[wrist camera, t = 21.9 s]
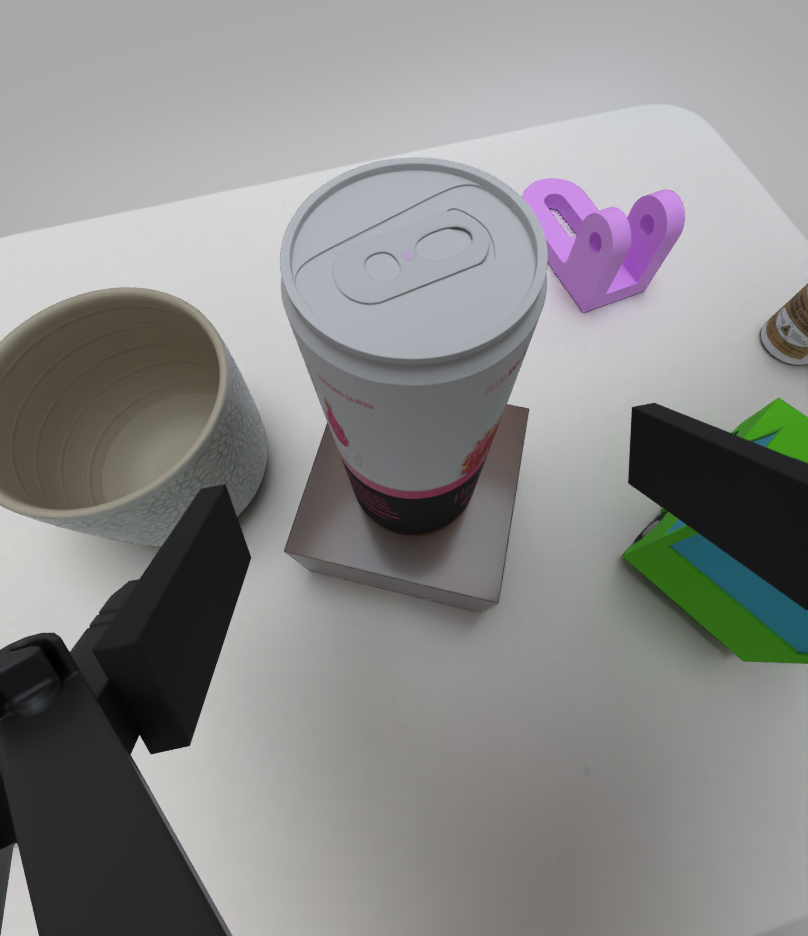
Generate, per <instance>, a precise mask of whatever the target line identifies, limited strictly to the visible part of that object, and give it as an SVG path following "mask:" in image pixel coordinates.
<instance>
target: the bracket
mask: <svg viewBox="0 0 808 936" xmlns="http://www.w3.org/2000/svg"><path fill="white" fill-rule="evenodd" d="M522 198H523V199H524V200H525V201H526V203H527V204H528V205H529V206H530V208H531V209H532V210H533V212H534V213H535V215H536V217H537V218H538V220H539V222H540V224H541V226H542V229H543V232H544V235H545V238H546V243H547V250H548V263H549V265H550V266H551V268H552V269H553V270H554V272H555V273H556V275H557V276H558V278H559V279H560V280H561V282H562V283H563V285H564V286H565V288H566V289H567V290H568V292H569V293H570V295H571V296H572V298H573V299H574V301H575V302H576V303H577V305H578V306H579V308H580V309H581V311H582V312H583V313H584V312H587V311H590V310H593V309H596V308H598V307H601V306H604V305H607V304H609V303H612V302H615V301H618V300H621V299H623V298H626V297H629V296H632V295H635V294H637V293H640V292H643V291H645V289H646V288H647V286H648V285H649V283H650V281H651V280H652V278H653V277H654V275H655V274H656V272H657V271H658V269H659V267H660V266H661V264H662V263H663V261H664V260H665V258H666V257H667V255H668V254H669V252H670V250H671V249H672V247H673V246H674V244H675V243H676V241H677V240H678V238H679V236H680V235H681V233H682V230H683V227H684V222H685V211H684V206H683V203H682V201H681V199H680V197H679V196H678V195H677V194H676V193H675V192H673V191H671V190H661V191H658V192H655V193H652V194H649V195H646V196H643V197H641V198H640V199H638V200H637V201H636V203H635V204H634V205H633V207H632V209H631V211H630V213H629V215H628V217H626V215H625V214H624V213H623V212H622V211H621V210H620V209H618V208H616V207H610V208H606V209H603V210H600V211H599V210H598V208H597V207H596V206H595V205H594V203H593V202H592V201H591V200H590V198H589V197H588V196H587V195H586V193H585V192H584V191H583V190H582V189H581V188H580V187H578V186H577V185H575V184H574V183H572V182H569V181H566V180H562V179H554V178H550V179H543V180H539V181H536V182H534V183H532V184H531V185H530V186H528V187H527V188H526V190H525V191H524V193H523V196H522ZM549 208H551V209H555V210H557V211H559V212H560V213H561V215H562V216H563V217H564V219H565V220H566V221H567V223H568V224H569V225H570V227H571V228H572V229H573V231H574V232H575V233H576V235H577V236H576V239H573V238H571V237H570V236H569V235H568V234H567V233H566V231H565V230H564V229H563V227H562V226H561V225H560V223H559V222H558V221H557V219H556V218H555V217H554V215H553V214H552V213H551V211H550V210H549Z"/></svg>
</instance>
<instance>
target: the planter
mask: <svg viewBox="0 0 808 936" xmlns="http://www.w3.org/2000/svg"><path fill="white" fill-rule="evenodd" d="M266 462H267V440H266V435H265V430H264V427H263V424H262V421H261V418H260V415H259V412H258V410H257V407H256V405H255V402H254V400H253V398H252V396H251V394H250V392H249V390H248V387H247V385H246V383H245V381H244V379H243V377H242V375H241V373H240V371H239V369H238V367H237V365H236V363H235V361H234V359H233V357H232V356H231V354H230V352H229V350H228V348H227V347H226V345H225V343H224V341H223V340H222V338H221V337H220V335H219V334H218V332H217V331H216V329H215V328H214V326H213V325H212V324H211V322H210V321H209V320H208V319H207V318H206V317H205V316H204V315H203V314H202V313H201V312H200V311H199V310H197V309H196V308H195V307H193V306H192V305H190V304H189V303H187V302H185V301H183V300H182V299H179V298H177V297H175V296H172V295H170V294H167V293H163V292H160V291H156V290H150V289H144V288H111V289H103V290H97V291H92V292H88V293H84V294H81V295H77V296H74V297H71V298H69V299H66V300H63V301H61V302H59V303H56V304H54V305H52V306H50V307H48V308H46V309H44V310H42V311H41V312H39V313H37V314H35V315H34V316H32V317H31V318H29V319H28V320H26V321H25V322H23V323H22V324H20V325H19V326H18V327H17V328H15V329H14V330H13V331H12V332H10V333H9V334H8V335H7V336H6V337H5V338H4V339H3V340H2V341H1V342H0V506H2V507H4V508H6V509H8V510H11V511H13V512H16V513H18V514H21V515H24V516H26V517H29V518H32V519H35V520H38V521H41V522H45V523H48V524H52V525H55V526H58V527H62V528H66V529H70V530H74V531H77V532H81V533H85V534H90V535H94V536H99V537H103V538H107V539H112V540H116V541H122V542H127V543H133V544H140V545H149V546H162V545H163V544H164V542H165V541H166V539H167V538H168V536H169V535H170V533H171V532H172V530H173V529H174V528H175V526H176V525H177V523H178V522H179V520H180V519H181V517H182V516H183V514H184V513H185V511H186V510H187V508H188V507H189V505H190V504H191V502H192V501H193V499H194V498H195V496H196V495H197V493H198V492H199V490H200V489H201V488H207V487H212V486H217V485H222V484H226V486H227V489H228V492H229V495H230V498H231V501H232V504H233V506H234V509H235V512H236V515H237V516H238V515H239V514H240V513H241V512H242V511H243V510H244V509H245V508H246V507H247V506H248V504H249V503H250V502H251V500H252V499H253V497H254V496H255V494H256V492H257V490H258V488H259V486H260V484H261V481H262V479H263V476H264V472H265V468H266Z"/></svg>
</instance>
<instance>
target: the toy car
mask: <svg viewBox="0 0 808 936" xmlns="http://www.w3.org/2000/svg"><path fill="white" fill-rule="evenodd" d="M726 432H727V431H726ZM731 434H734V435H736V436H739V437H741V438H744V439H746V440H749V441H752V442H754V443H757V444H759V445H762V446H764V447H767V448H769V449H772V450H774V451H777V452H779V453H782V454H784V455H787V456H789V457H792V458H796V459H799V460H802V461H804V462H807V463H808V417H807V416H805V415H804V414H802V413H801V412H799V411H798V410H796V409H795V408H793V407H792V406H790V405H789V404H787V403H786V402H784V401H783V400H781V399H780V398H777V399H776V400H774V401H773V402H771V403H770V404H769V405H767V406H766V407H764V408H763V409H761V410H760V411H759V412H757V413H756V414H754V415H753V416H751V417H750V418H748V419H747V420H746V421H744V422H743V423H741V424H740V425H739V426H738V427H737V428H736V429H735V430H734V431H733V432H732V433H731ZM661 511H662V512H663V514H662V515H660V516H659V517H657V518H656V519H655V520H654V521H653V522H652V523H650V524H649V525H648V526H647V527H646V528H645V529H644V530H643V531H642V532H641V533H640V535H639V536H638V537H637V538H636V540H635V541H634V543H633V545H631V546H630V547H629V548H628V549H627V550H626V552H625V553H624V554H623V555H622V557H624V558H625V559H626V560H627V561H628V562H629V563H631V564H632V565H633V566H634V567H635V568H636V569H637V570H639V571H640V572H641V573H642V574H643V575H644V576H646V577H647V578H648V579H649V580H650V581H651V582H652V583H654V584H655V585H656V586H657V587H658V588H659V589H661V590H662V591H663V592H664V593H665V594H666V595H667V596H669V597H670V598H671V599H672V600H673V601H674V602H676V603H677V604H678V605H679V606H680V607H681V608H682V609H684V610H685V611H686V612H687V613H688V614H689V615H691V616H692V617H693V618H694V619H695V620H696V621H697V622H699V623H700V624H701V625H702V626H703V627H704V628H706V629H707V630H708V631H709V632H710V633H711V634H712V635H714V636H715V637H716V638H717V639H718V640H719V641H720V642H722V643H723V644H724V645H725V646H726V647H727V648H729V649H730V650H731V651H732V652H733V653H734V654H735V655H737V656H738V657H739V658H740V659H741V660H742V661H748V662H776V663H803V664H808V610H807V611H806V610H805V609H804V608H802V607H801V606H799V605H798V604H797V603H795V602H794V601H792V600H791V599H790V598H788V597H787V596H785V595H784V594H783V593H781V592H780V591H778V590H777V589H776V588H774V587H773V586H771V585H770V584H769V583H767V582H766V581H764V580H763V579H762V578H760V577H759V576H757V575H756V574H755V573H753V572H752V571H750V570H749V569H748V568H746V567H745V566H743V565H742V564H741V563H739V562H738V561H736V560H735V559H734V558H732V557H731V556H729V555H728V554H727V553H725V552H724V551H722V550H721V549H720V548H718V547H717V546H715V545H714V544H713V543H711V542H710V541H708V540H707V539H706V538H704V537H703V536H701V535H700V534H699V533H697V532H696V531H694V530H693V529H692V528H690V527H689V526H687V525H686V524H685V523H683V522H682V521H680V520H679V519H678V518H676V517H675V516H673V515H672V514H671V513H669V512H668V511H666V510H665V509H664V508H663V509H662V510H661Z"/></svg>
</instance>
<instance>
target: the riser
mask: <svg viewBox="0 0 808 936" xmlns="http://www.w3.org/2000/svg"><path fill="white" fill-rule="evenodd" d="M528 413H529V409H528V408H523V407H518V406H513V405H508V404H506V407H505V410H504V412H503V415H502V418H501V420H500V423H499V426H498V428H497V431H496V434H495V436H494V439H493V442H492V444H491V447H490V450H489V452H488V455H487V458H486V460H485V463H484V466H483V468H482V471H481V474H480V476H479V479H478V482H477V484H476V487H475V490H474V492H473V495H472V497H471V500H470V502H469V503H468V505H467V507H466V508H465V509H464V511H463V512H462V513H461V514H460V515H459V516H458V517H457V518H456V519H455V520H453V521H452V522H451V523H449V524H447V525H446V526H444V527H442V528H439V529H437V530H434V531H431V532H426V533H418V534H409V533H401V532H397V531H394V530H391V529H388V528H386V527H384V526H382V525H380V524H379V523H377V522H376V521H374V520H373V519H372V518H371V517H370V516H369V515H368V514H367V513H366V512H365V511H364V510H363V508H362V507H361V505H360V504H359V502H358V500H357V498H356V496H355V493H354V490H353V488H352V485H351V483H350V480H349V477H348V475H347V472H346V469H345V467H344V464H343V461H342V459H341V456H340V454H339V451H338V448H337V446H336V443H335V440H334V438H333V435H332V432H331V430H330V427H329V425H328V422H327V425H326V428H325V431H324V434H323V437H322V440H321V443H320V446H319V449H318V452H317V455H316V458H315V461H314V464H313V467H312V470H311V472H310V475H309V478H308V481H307V484H306V487H305V490H304V493H303V496H302V499H301V502H300V505H299V508H298V511H297V514H296V517H295V520H294V523H293V526H292V529H291V532H290V535H289V538H288V541H287V544H286V546H285V549H284V552H285V553H287V554H288V555H289V556H291V557H292V558H293V559H295V560H296V561H297V562H299V563H300V564H301V565H302V566H304V567H305V568H306V569H308V570H309V571H313V572H317V573H321V574H325V575H329V576H333V577H337V578H341V579H345V580H349V581H353V582H357V583H362V584H366V585H370V586H374V587H378V588H382V589H386V590H390V591H394V592H398V593H402V594H406V595H410V596H414V597H418V598H423V599H427V600H431V601H435V602H439V603H443V604H447V605H451V606H455V607H459V608H463V609H467V610H471V611H475V612H480V613H482V612H483V611H485V610H487V609H489V608H491V607H493V606H494V605H496V604H498V603H499V597H500V590H501V584H502V578H503V571H504V565H505V559H506V552H507V546H508V540H509V533H510V527H511V521H512V515H513V508H514V502H515V496H516V489H517V483H518V477H519V470H520V464H521V458H522V451H523V445H524V439H525V432H526V426H527V420H528Z"/></svg>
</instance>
